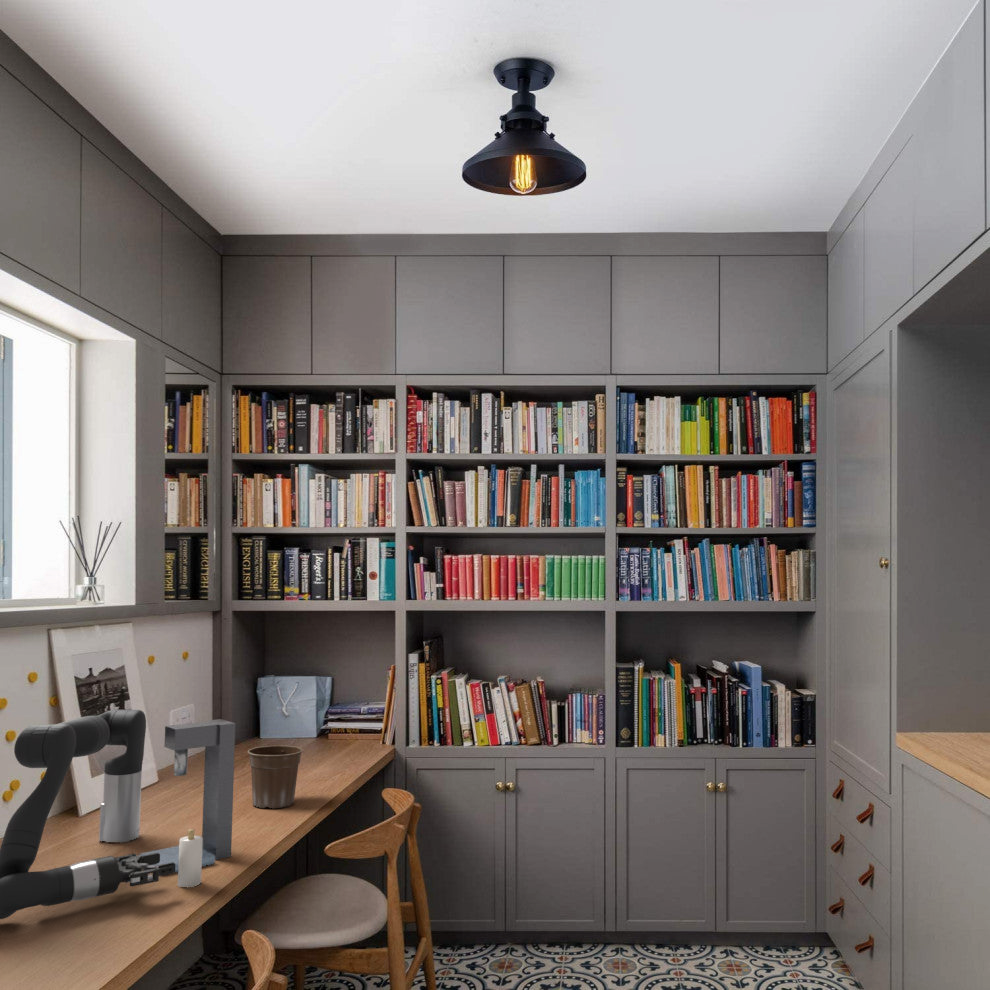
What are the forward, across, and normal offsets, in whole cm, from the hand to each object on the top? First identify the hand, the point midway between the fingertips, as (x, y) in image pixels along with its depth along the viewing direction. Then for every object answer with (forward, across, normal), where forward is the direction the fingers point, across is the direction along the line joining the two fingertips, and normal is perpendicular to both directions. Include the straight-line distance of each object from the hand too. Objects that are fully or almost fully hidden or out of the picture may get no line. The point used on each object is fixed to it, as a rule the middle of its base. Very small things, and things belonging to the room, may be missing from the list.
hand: (166, 862), depth 203 cm
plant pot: (+54, +51, +6) cm, 74 cm away
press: (+12, +21, +6) cm, 25 cm away
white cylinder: (+5, 0, +6) cm, 8 cm away
